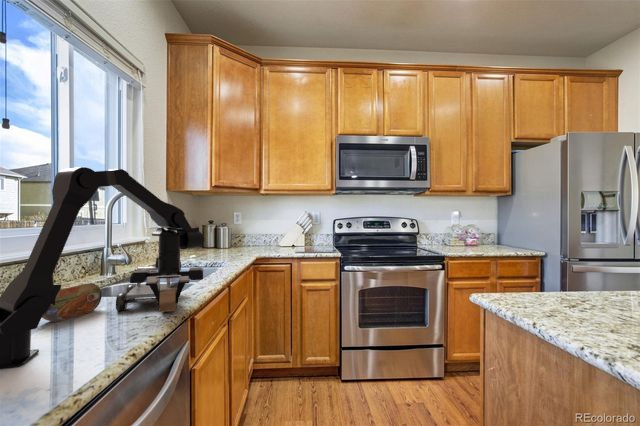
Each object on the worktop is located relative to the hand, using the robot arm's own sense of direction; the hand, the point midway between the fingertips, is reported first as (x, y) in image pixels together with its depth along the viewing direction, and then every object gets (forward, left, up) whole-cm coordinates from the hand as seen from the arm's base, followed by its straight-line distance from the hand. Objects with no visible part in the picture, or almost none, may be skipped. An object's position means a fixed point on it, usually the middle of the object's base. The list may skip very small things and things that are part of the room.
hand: (168, 304), depth 89 cm
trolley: (+12, +6, -2) cm, 14 cm away
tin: (+4, +24, -2) cm, 25 cm away
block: (0, 0, -1) cm, 1 cm away
